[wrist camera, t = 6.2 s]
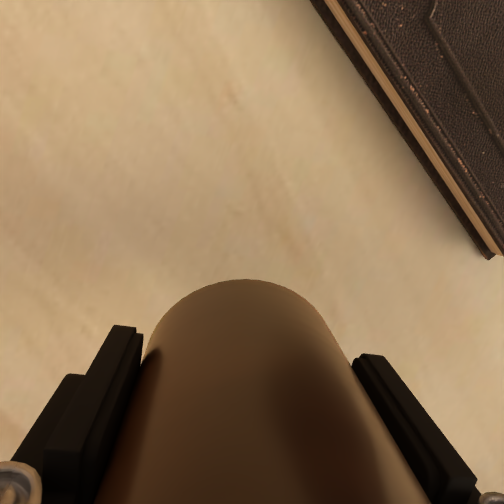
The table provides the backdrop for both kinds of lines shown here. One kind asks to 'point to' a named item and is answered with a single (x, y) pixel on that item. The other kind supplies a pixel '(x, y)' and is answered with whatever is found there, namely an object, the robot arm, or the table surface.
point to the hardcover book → (438, 93)
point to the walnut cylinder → (251, 411)
